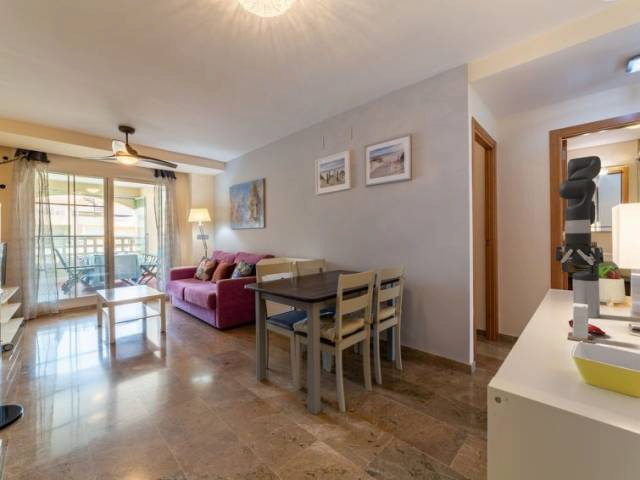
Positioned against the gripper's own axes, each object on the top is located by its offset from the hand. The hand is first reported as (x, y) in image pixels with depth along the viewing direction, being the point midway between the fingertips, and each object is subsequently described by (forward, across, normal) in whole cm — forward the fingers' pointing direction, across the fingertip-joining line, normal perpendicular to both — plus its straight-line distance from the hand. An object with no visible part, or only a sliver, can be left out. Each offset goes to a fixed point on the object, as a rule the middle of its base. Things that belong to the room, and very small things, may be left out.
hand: (578, 273), depth 109 cm
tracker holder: (+24, +1, -6) cm, 25 cm away
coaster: (+24, -2, +4) cm, 25 cm away
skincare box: (+24, -3, +4) cm, 24 cm away
